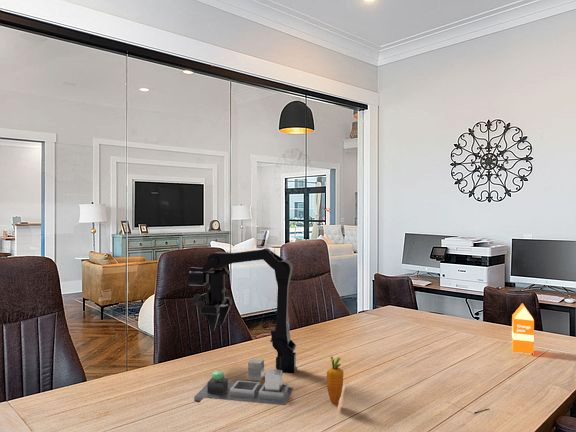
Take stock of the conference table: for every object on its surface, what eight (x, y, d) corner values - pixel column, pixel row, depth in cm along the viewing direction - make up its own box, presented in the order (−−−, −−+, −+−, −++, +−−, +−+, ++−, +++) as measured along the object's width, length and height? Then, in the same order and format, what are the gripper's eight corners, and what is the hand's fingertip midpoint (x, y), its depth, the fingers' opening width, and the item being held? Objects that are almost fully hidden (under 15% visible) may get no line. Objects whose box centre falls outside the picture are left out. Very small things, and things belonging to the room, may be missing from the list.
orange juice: (512, 353, 195) (513, 305, 195) (511, 348, 204) (512, 302, 203) (533, 356, 192) (534, 307, 192) (531, 350, 201) (532, 303, 200)
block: (282, 392, 147) (282, 370, 147) (279, 397, 143) (279, 374, 143) (268, 391, 148) (268, 368, 148) (264, 396, 144) (265, 373, 144)
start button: (225, 376, 150) (225, 371, 150) (221, 380, 147) (221, 375, 147) (214, 375, 151) (214, 370, 151) (210, 379, 147) (210, 374, 147)
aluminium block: (263, 379, 162) (264, 359, 161) (260, 384, 157) (260, 363, 157) (251, 378, 162) (251, 358, 162) (247, 383, 158) (248, 362, 158)
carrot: (325, 403, 142) (325, 353, 142) (341, 403, 142) (342, 353, 142) (327, 410, 137) (328, 358, 137) (344, 410, 138) (345, 358, 137)
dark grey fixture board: (293, 391, 151) (293, 378, 151) (285, 409, 138) (285, 394, 138) (210, 384, 157) (210, 371, 157) (194, 400, 143) (194, 386, 143)
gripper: (205, 281, 185) (205, 321, 185) (186, 289, 167) (186, 333, 167) (232, 282, 183) (232, 322, 183) (216, 290, 165) (216, 335, 165)
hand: (216, 328), depth 175 cm, fingers open, 9 cm apart
